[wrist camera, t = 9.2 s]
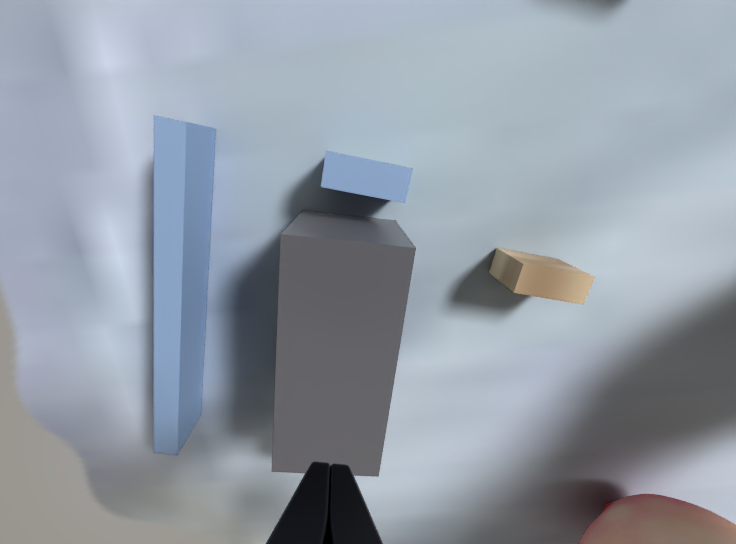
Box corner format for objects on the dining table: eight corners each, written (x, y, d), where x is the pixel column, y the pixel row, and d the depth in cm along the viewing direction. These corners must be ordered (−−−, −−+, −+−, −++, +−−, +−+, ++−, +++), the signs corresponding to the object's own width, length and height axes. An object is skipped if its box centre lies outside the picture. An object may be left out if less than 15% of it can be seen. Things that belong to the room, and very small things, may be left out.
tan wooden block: (686, -82, 12) (770, -142, 10) (548, 283, 16) (583, 304, 14) (608, -106, 12) (675, -175, 9) (488, 272, 16) (513, 292, 13)
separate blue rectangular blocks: (402, 166, 14) (412, 168, 12) (345, 431, 18) (344, 472, 16) (189, 123, 13) (153, 115, 11) (180, 412, 17) (153, 452, 15)
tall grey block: (395, 219, 15) (416, 247, 10) (371, 391, 18) (378, 476, 13) (303, 210, 15) (280, 233, 10) (293, 386, 17) (271, 471, 13)
